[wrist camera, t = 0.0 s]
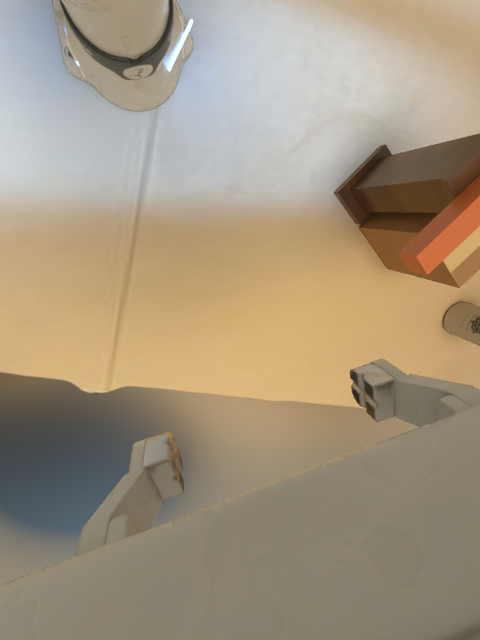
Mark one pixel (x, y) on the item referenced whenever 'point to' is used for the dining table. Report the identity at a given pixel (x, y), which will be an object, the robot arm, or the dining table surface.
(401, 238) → the carton
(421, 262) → the bar
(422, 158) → the stand
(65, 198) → the dining table surface
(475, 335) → the travel mug
